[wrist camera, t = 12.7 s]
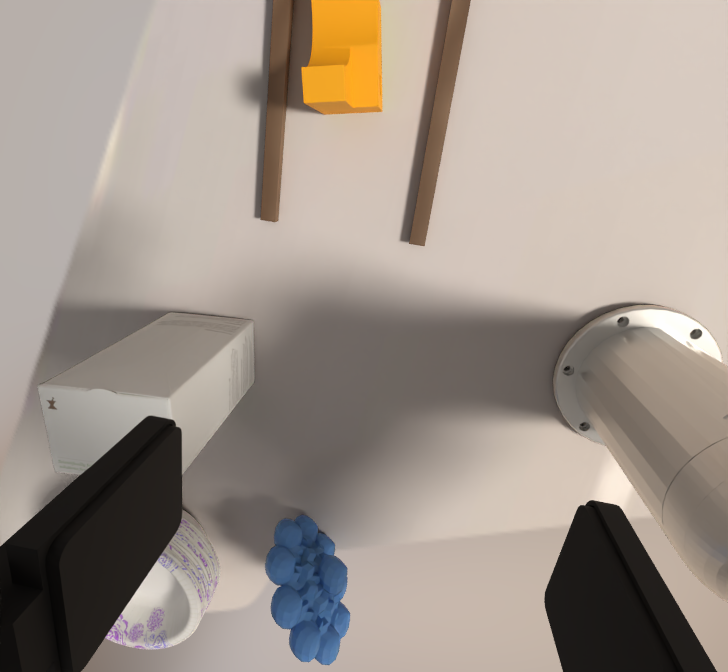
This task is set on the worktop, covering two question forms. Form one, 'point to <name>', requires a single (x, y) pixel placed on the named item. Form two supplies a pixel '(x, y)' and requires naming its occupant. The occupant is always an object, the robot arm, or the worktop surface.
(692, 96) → the worktop surface
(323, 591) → the grapes
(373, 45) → the pipe clamp
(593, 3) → the worktop surface
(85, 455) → the skincare box
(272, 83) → the rail
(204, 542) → the paper bowls
